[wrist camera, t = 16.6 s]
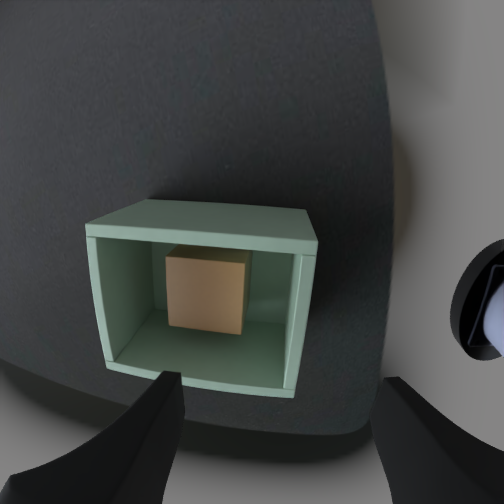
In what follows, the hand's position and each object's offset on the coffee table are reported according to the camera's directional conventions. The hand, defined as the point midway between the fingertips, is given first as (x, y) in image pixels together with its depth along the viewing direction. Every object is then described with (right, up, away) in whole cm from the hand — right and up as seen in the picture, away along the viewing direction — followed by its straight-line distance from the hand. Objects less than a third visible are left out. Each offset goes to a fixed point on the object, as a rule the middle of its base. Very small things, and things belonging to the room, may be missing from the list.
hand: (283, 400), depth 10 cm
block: (-3, +4, +9) cm, 11 cm away
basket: (-3, +4, +10) cm, 11 cm away
